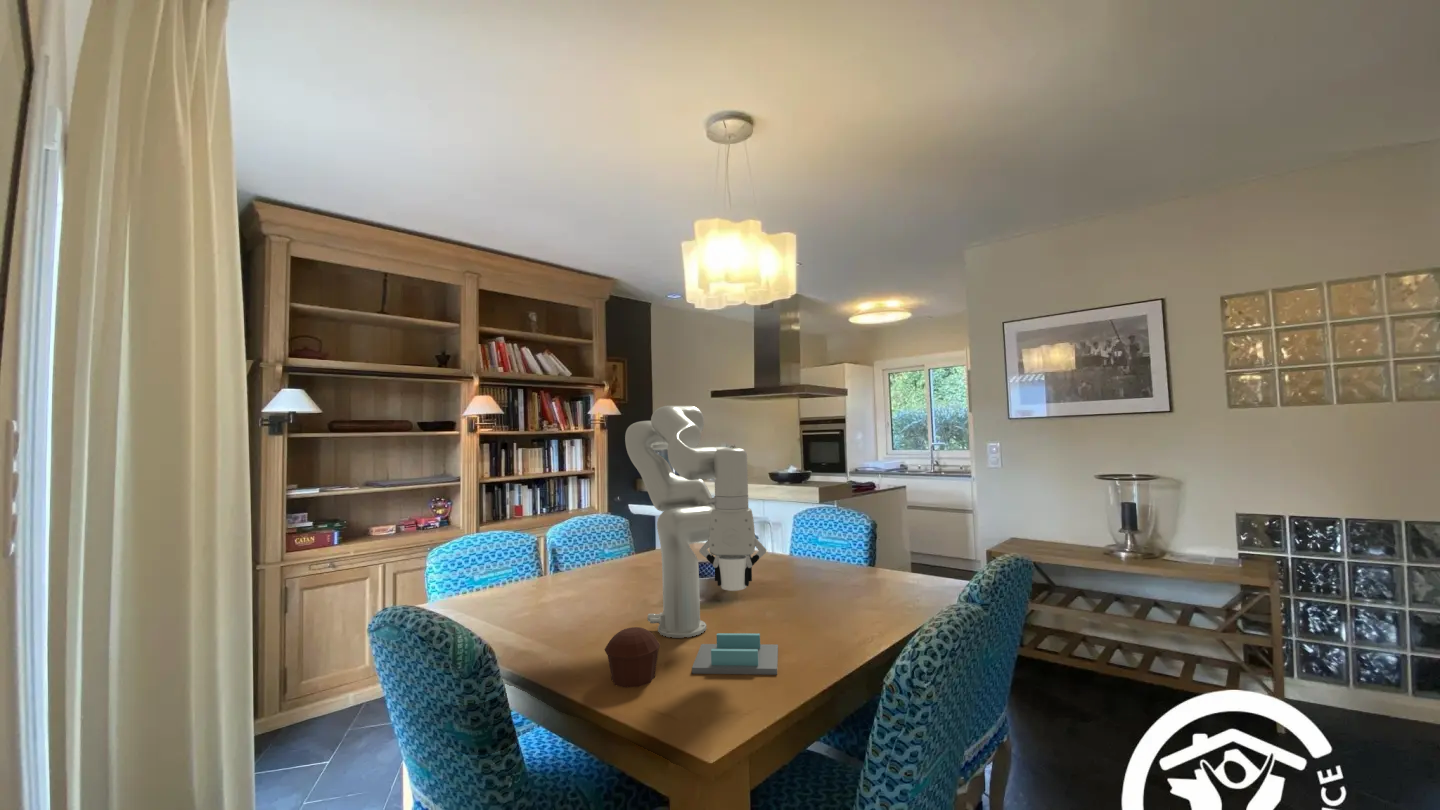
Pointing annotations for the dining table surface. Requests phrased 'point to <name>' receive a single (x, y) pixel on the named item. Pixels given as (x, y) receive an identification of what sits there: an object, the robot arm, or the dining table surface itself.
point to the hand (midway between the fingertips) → (733, 583)
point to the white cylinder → (732, 572)
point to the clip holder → (736, 656)
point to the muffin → (632, 657)
